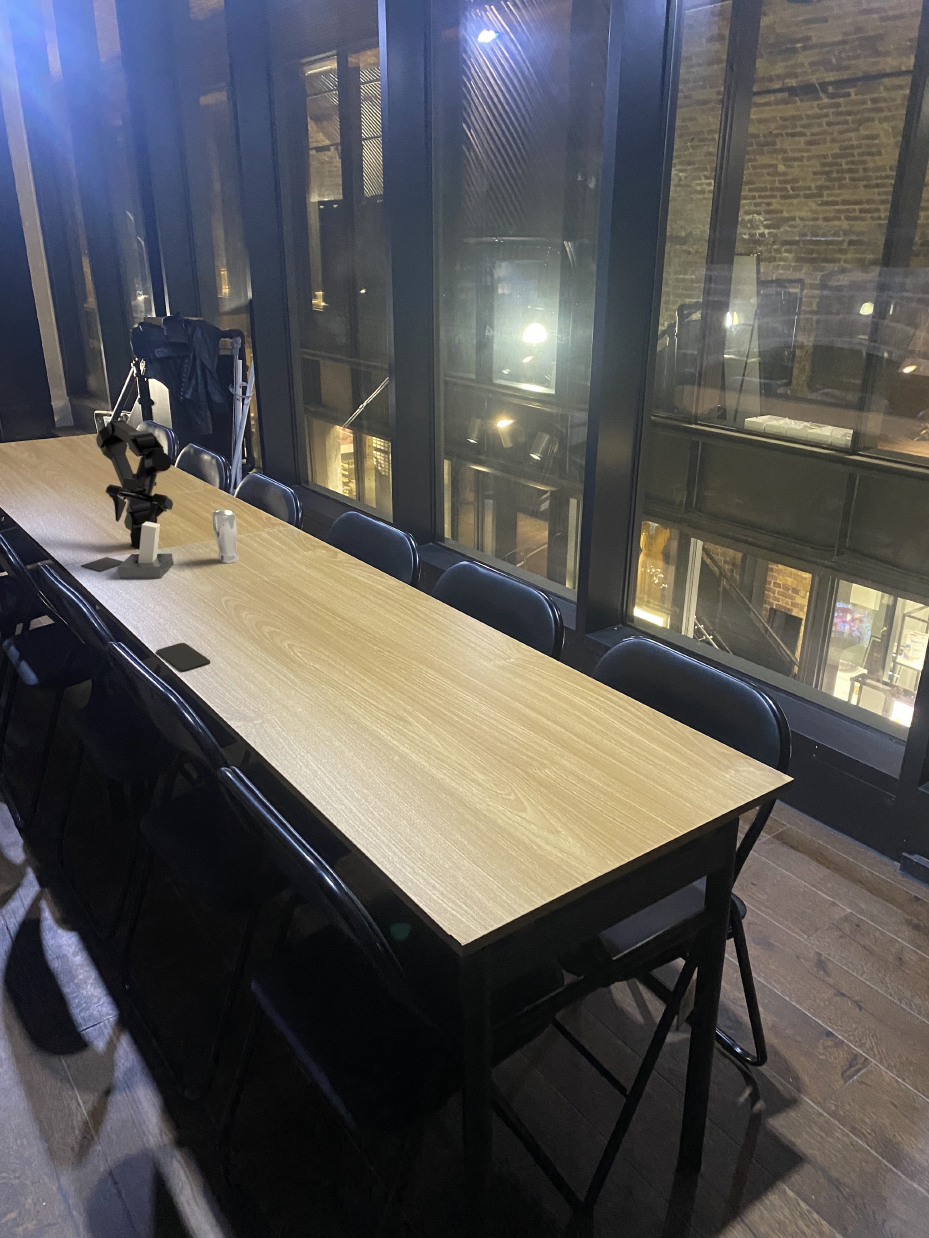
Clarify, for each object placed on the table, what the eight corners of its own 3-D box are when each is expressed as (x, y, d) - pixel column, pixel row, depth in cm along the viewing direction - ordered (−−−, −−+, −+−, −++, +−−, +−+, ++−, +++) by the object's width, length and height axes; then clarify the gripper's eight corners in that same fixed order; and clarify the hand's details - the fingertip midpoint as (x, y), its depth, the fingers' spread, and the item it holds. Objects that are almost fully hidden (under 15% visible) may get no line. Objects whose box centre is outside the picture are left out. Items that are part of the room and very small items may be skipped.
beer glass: (234, 564, 264) (228, 516, 258) (213, 563, 265) (207, 515, 259) (244, 557, 270) (239, 510, 264) (223, 555, 271) (217, 508, 265)
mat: (106, 558, 270) (106, 556, 270) (125, 563, 265) (125, 561, 265) (81, 566, 263) (80, 565, 263) (100, 571, 258) (100, 570, 258)
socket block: (133, 564, 264) (131, 553, 262) (173, 564, 264) (171, 553, 263) (119, 578, 253) (117, 567, 251) (161, 578, 253) (159, 566, 252)
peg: (141, 566, 260) (146, 521, 255) (155, 569, 260) (160, 524, 256) (137, 570, 256) (141, 524, 251) (151, 573, 256) (155, 527, 252)
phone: (184, 641, 211) (212, 661, 200) (184, 644, 211) (212, 664, 200) (154, 650, 206) (181, 670, 196) (154, 653, 206) (181, 674, 196)
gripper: (104, 459, 254) (88, 509, 251) (165, 471, 252) (149, 522, 249) (121, 473, 265) (106, 521, 262) (179, 484, 263) (165, 533, 260)
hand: (131, 524), depth 258 cm, fingers open, 9 cm apart
